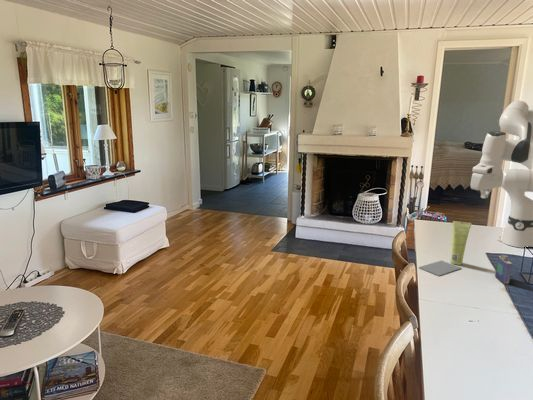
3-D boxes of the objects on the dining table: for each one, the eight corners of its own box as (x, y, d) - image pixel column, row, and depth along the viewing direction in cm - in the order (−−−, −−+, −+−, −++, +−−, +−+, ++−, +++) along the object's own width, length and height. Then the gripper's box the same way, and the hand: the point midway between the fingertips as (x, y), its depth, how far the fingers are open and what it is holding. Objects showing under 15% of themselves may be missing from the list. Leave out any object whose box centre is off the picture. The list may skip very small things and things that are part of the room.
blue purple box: (510, 284, 161) (514, 259, 158) (502, 284, 161) (506, 259, 159) (500, 275, 170) (504, 251, 167) (493, 274, 170) (496, 251, 168)
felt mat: (441, 261, 184) (441, 260, 184) (461, 268, 176) (461, 267, 176) (418, 268, 176) (418, 267, 176) (438, 276, 168) (438, 275, 168)
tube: (457, 260, 186) (462, 219, 181) (465, 264, 181) (471, 222, 177) (447, 261, 184) (452, 220, 179) (456, 265, 179) (461, 224, 175)
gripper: (495, 165, 188) (489, 194, 191) (470, 167, 177) (464, 198, 180) (509, 168, 183) (503, 197, 186) (484, 170, 172) (478, 201, 175)
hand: (484, 197), depth 183 cm, fingers closed
